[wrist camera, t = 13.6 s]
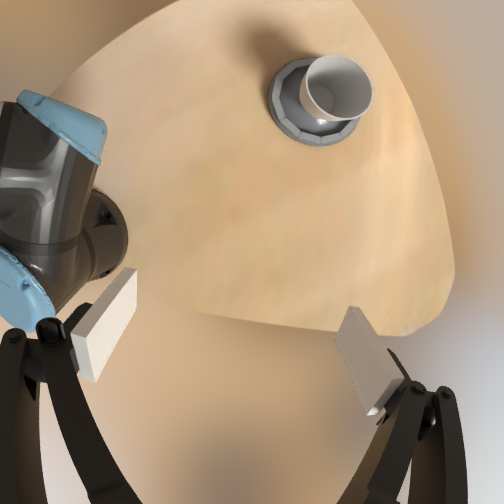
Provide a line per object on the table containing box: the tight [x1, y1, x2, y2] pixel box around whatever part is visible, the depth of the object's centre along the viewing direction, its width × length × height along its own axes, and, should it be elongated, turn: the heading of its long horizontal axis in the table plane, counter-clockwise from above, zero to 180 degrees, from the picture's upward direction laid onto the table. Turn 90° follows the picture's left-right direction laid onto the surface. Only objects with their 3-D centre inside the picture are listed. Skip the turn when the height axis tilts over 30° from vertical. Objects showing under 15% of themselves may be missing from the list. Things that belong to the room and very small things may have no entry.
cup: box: [299, 54, 373, 121], centre depth 29 cm, size 8×8×10 cm
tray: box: [268, 58, 360, 146], centre depth 34 cm, size 14×14×2 cm
